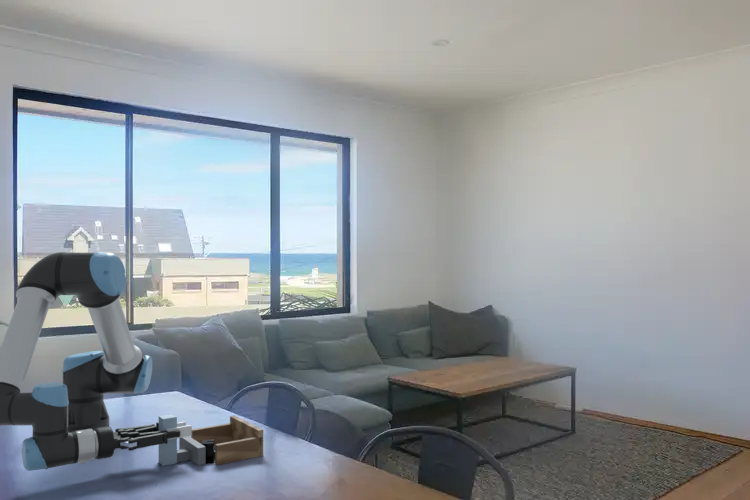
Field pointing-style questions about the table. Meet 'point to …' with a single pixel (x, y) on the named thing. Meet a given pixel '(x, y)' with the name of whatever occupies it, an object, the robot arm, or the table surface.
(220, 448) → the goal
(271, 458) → the table surface
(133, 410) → the table surface
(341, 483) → the table surface
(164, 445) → the block
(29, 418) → the robot arm
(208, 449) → the black angular piece
